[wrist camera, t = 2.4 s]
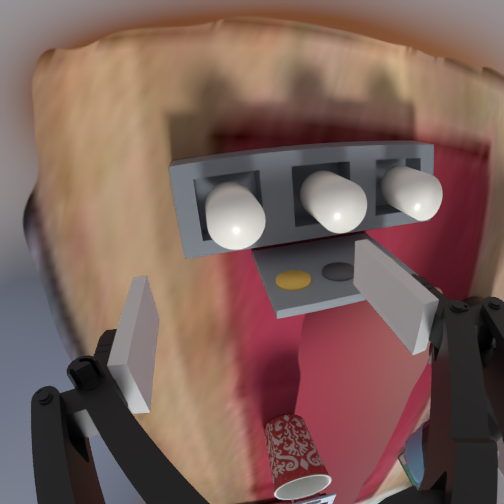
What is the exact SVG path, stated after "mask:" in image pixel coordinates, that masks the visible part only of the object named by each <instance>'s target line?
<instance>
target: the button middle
mask: <svg viewBox="0 0 504 504" xmlns="http://www.w3.org/2000/svg"><path fill="white" fill-rule="evenodd" d="M300 200H301V203H302V205H303V207H304V208H305V210H306V211H307V212H309V213H310V214H311V215H312V216H313V217H314V218H315V219H316V220H317V221H319V222H320V223H321V224H322V225H323V226H324V227H325V228H326V229H328V230H329V231H331V232H334V233H346V232H349V231H351V230H353V229H354V228H356V227H357V226H358V225H359V224H360V223H361V221H362V220H363V218H364V216H365V214H366V210H367V199H366V195H365V193H364V191H363V190H362V188H361V187H360V186H359V185H357V184H356V183H354V182H352V181H350V180H347V179H345V178H343V177H341V176H339V175H337V174H334V173H332V172H330V171H325V170H321V171H316V172H314V173H312V174H310V175H309V176H308V177H307V178H306V179H305V180H304V182H303V184H302V186H301V189H300Z"/></svg>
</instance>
